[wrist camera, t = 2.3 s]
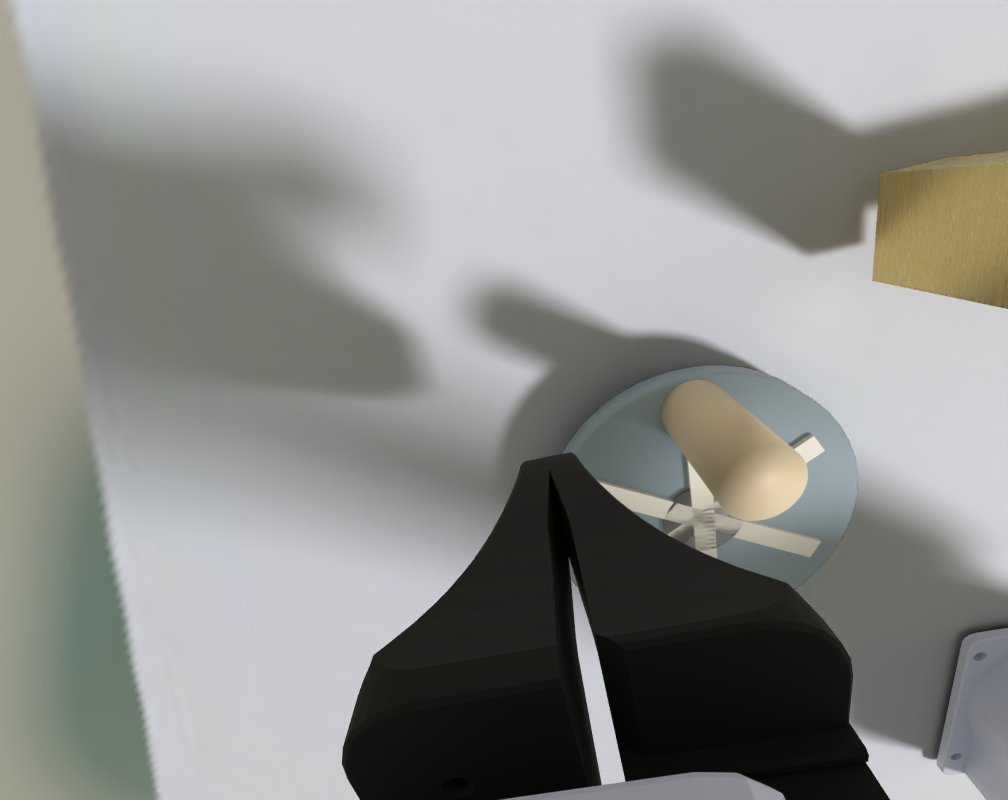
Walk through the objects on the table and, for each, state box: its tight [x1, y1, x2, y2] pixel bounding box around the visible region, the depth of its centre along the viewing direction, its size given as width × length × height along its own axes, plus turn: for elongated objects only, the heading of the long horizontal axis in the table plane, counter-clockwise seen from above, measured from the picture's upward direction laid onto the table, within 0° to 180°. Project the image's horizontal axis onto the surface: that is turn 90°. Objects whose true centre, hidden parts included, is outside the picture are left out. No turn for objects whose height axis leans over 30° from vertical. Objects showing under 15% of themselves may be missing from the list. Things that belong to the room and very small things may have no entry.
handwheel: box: [563, 365, 858, 590], centre depth 14 cm, size 10×10×5 cm
